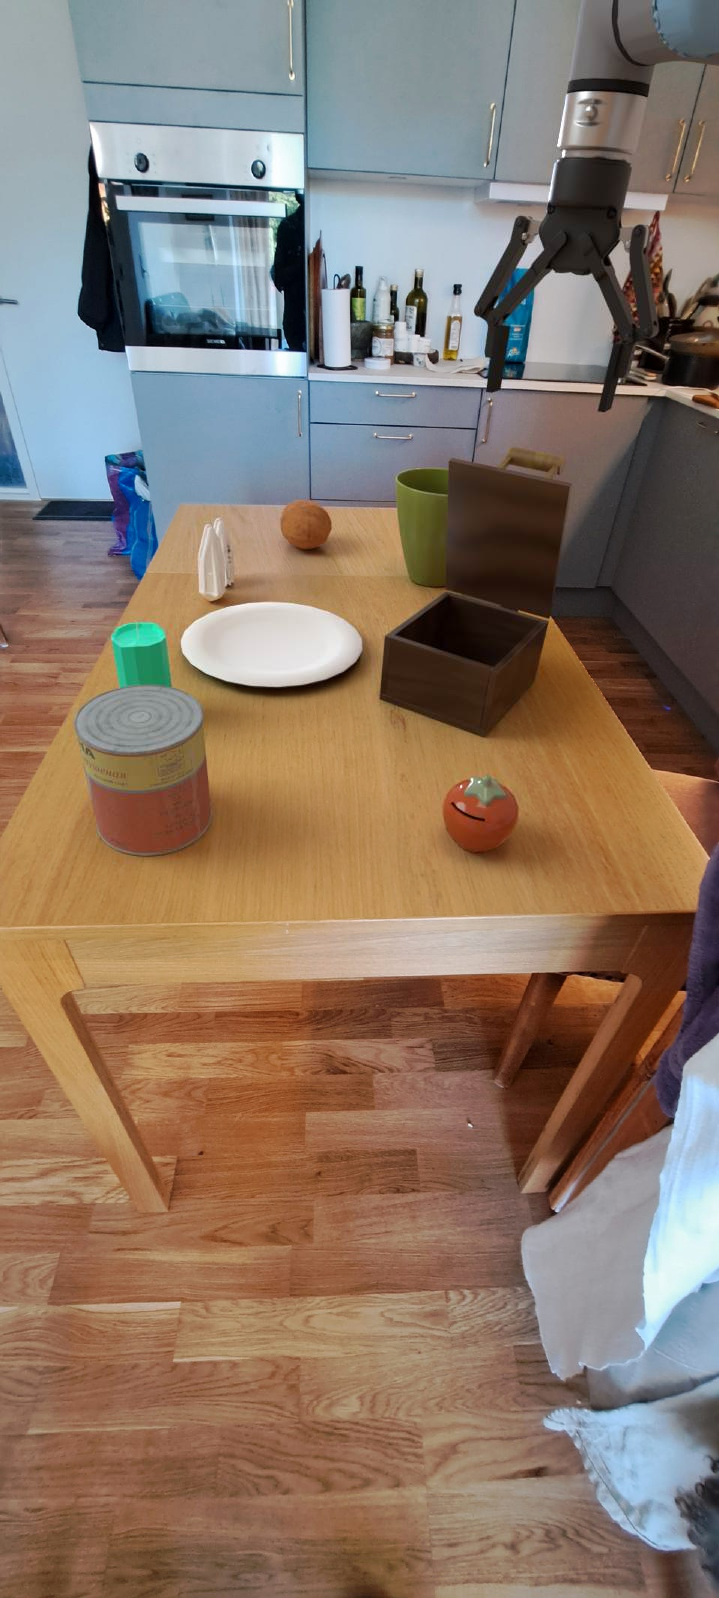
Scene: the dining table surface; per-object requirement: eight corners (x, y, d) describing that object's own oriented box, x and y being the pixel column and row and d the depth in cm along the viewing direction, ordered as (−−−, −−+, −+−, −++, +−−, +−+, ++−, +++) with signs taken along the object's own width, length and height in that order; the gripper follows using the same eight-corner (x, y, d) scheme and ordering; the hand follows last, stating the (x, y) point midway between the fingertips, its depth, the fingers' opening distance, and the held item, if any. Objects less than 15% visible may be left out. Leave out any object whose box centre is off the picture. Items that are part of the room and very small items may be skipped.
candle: (145, 696, 91) (131, 605, 84) (185, 709, 89) (175, 617, 82) (113, 718, 87) (95, 625, 79) (154, 733, 85) (140, 638, 78)
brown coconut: (329, 536, 139) (330, 495, 134) (333, 558, 130) (334, 515, 126) (280, 534, 138) (280, 493, 133) (280, 557, 129) (280, 513, 125)
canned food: (108, 782, 78) (88, 683, 70) (216, 783, 79) (208, 685, 71) (85, 856, 69) (59, 752, 61) (207, 855, 70) (196, 753, 62)
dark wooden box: (485, 737, 88) (497, 672, 83) (379, 699, 94) (384, 635, 88) (534, 681, 100) (549, 620, 94) (437, 649, 105) (445, 590, 100)
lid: (570, 486, 80) (601, 447, 85) (448, 460, 86) (484, 425, 91) (548, 619, 94) (576, 578, 99) (445, 589, 99) (476, 552, 104)
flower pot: (408, 555, 133) (417, 461, 123) (486, 573, 129) (502, 477, 119) (373, 583, 123) (379, 483, 113) (456, 603, 118) (471, 501, 108)
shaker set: (222, 608, 112) (218, 535, 105) (195, 606, 112) (189, 533, 105) (237, 577, 121) (234, 509, 114) (212, 575, 121) (207, 507, 114)
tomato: (423, 840, 73) (432, 776, 68) (464, 806, 78) (475, 744, 73) (485, 876, 70) (500, 812, 65) (525, 838, 74) (541, 775, 69)
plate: (391, 679, 98) (392, 668, 97) (205, 710, 90) (204, 698, 88) (325, 603, 115) (325, 592, 114) (165, 622, 107) (163, 611, 106)
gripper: (462, 149, 74) (436, 387, 87) (719, 159, 64) (646, 424, 78) (492, 155, 79) (463, 379, 92) (734, 165, 69) (663, 413, 83)
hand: (547, 400), depth 85 cm, fingers open, 13 cm apart
